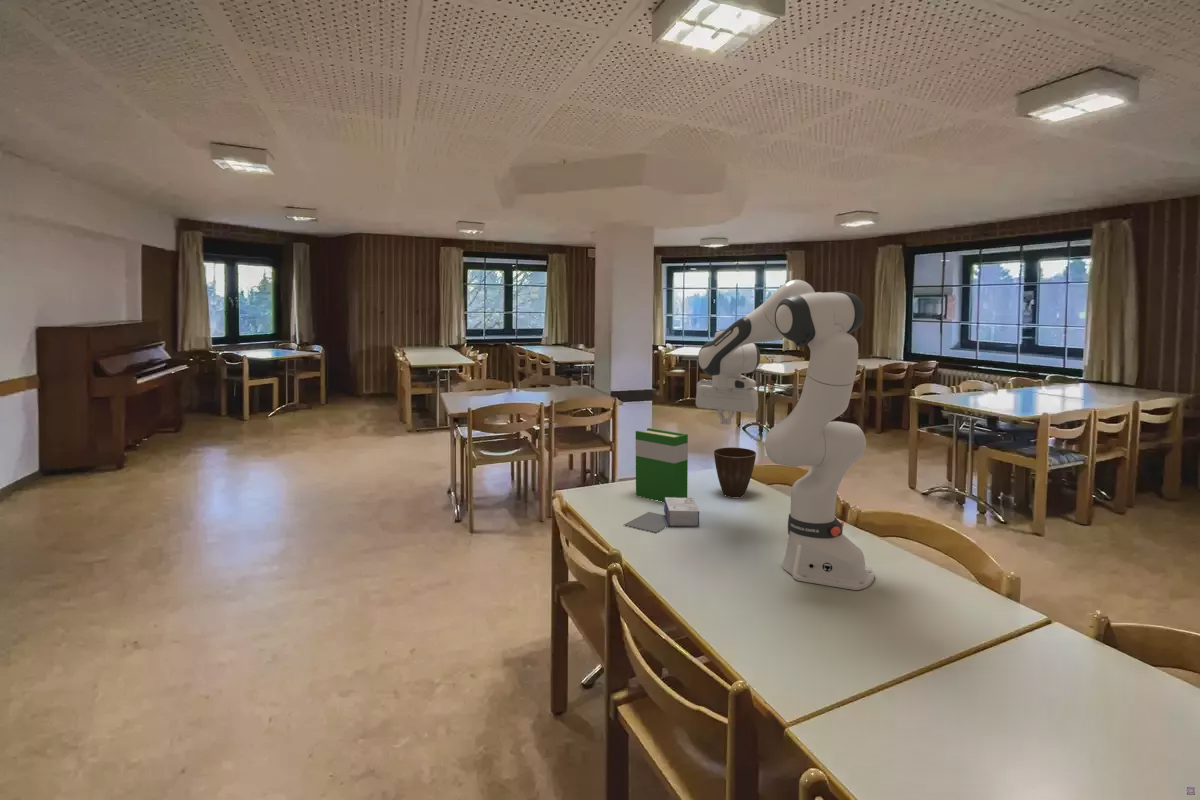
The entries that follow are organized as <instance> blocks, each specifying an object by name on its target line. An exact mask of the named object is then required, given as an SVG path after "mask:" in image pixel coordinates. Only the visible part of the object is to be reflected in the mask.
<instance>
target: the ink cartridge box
mask: <svg viewBox="0 0 1200 800" xmlns="http://www.w3.org/2000/svg"><path fill="white" fill-rule="evenodd" d="M663 506H664V509H663V511H664V515H666V518H667V521H668V524H669V526H668V527H699V526H700V510H699V507H698V506H697V503H696V501H695V499H694V497H687V498H675V497H673V498H672V497H665V501H664V503H663Z"/></svg>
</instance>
